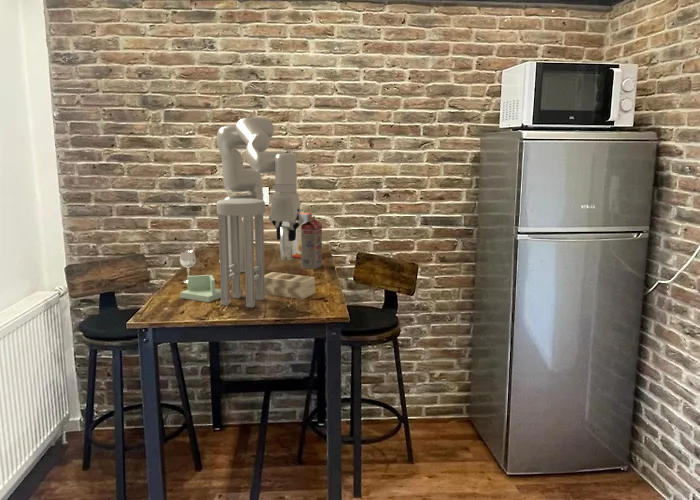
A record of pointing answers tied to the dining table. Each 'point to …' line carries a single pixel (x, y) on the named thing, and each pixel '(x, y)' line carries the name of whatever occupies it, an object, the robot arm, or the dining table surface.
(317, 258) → the juice carton
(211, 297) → the v-block
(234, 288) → the stool
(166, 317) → the dining table surface
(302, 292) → the beige block with hole
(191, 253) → the wineglass
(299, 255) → the cracker box
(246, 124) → the robot arm
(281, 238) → the steel axle
